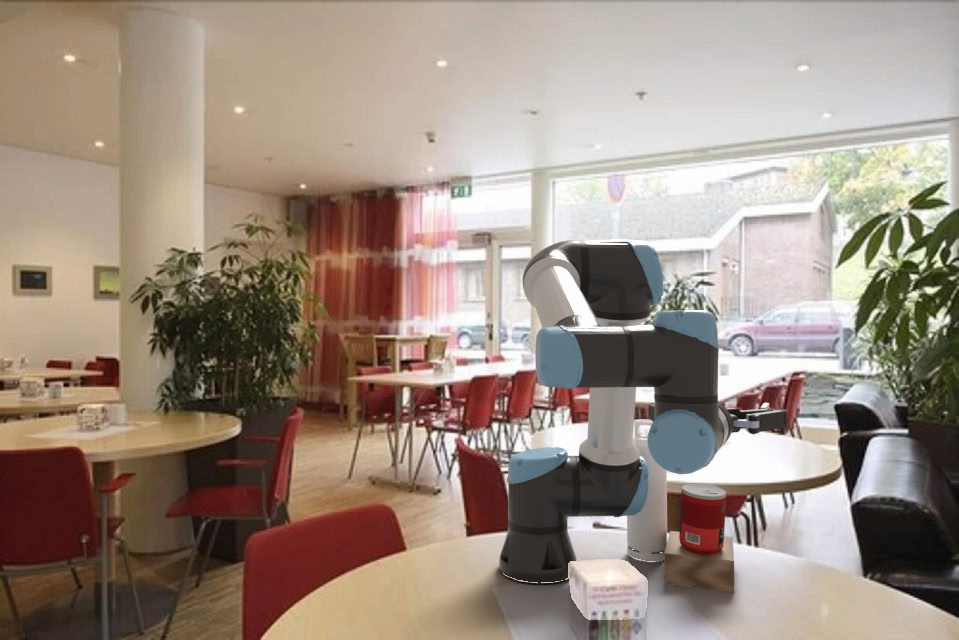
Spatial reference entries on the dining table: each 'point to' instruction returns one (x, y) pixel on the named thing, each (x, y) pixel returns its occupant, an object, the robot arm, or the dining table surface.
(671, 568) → the walnut box
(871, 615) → the dining table surface
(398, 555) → the dining table surface
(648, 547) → the bottle
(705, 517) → the canned food
